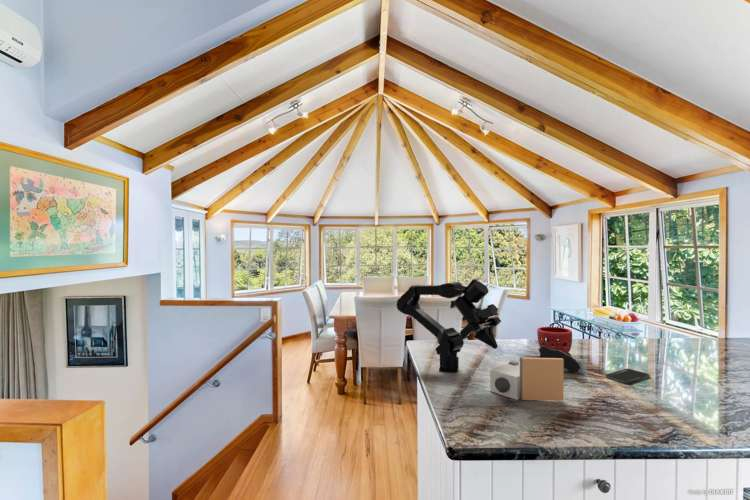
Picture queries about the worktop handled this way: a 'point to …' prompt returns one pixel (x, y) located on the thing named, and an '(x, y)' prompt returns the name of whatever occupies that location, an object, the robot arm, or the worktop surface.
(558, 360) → the tan flat square panel
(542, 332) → the plant pot
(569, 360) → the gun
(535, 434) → the worktop surface
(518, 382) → the white box
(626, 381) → the phone
